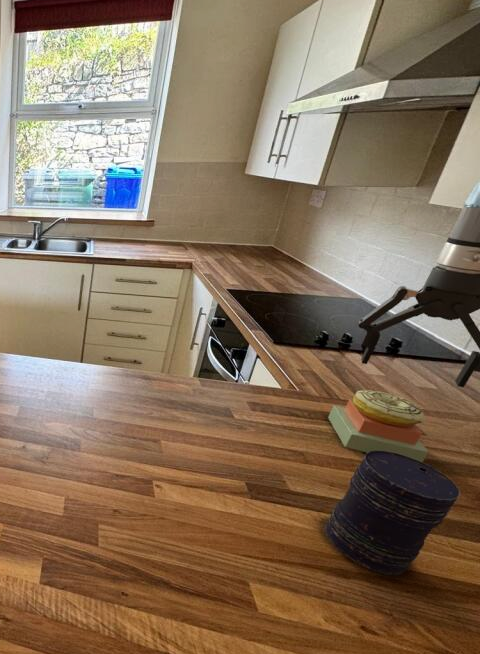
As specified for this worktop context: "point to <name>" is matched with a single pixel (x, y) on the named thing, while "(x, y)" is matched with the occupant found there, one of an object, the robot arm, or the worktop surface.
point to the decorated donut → (388, 408)
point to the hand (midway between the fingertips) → (409, 372)
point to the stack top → (381, 427)
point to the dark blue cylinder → (390, 511)
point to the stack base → (371, 438)
